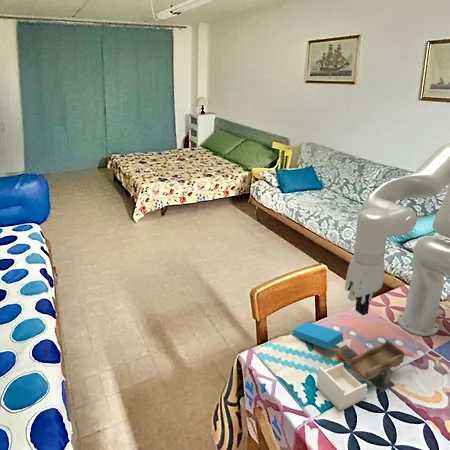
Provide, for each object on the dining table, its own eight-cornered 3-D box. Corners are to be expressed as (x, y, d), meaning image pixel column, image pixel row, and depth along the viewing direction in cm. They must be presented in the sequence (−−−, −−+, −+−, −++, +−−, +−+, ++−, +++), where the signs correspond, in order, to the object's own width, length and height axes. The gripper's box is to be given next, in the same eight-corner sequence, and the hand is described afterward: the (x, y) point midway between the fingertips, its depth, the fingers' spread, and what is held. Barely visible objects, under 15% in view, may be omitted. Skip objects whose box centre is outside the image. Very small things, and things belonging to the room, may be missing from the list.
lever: (295, 349, 130) (341, 367, 116) (292, 329, 129) (338, 345, 114) (309, 340, 134) (355, 357, 120) (307, 321, 133) (352, 336, 118)
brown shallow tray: (368, 339, 122) (370, 327, 120) (402, 365, 112) (405, 352, 110) (333, 355, 116) (334, 343, 114) (365, 384, 106) (367, 371, 104)
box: (341, 375, 113) (344, 356, 110) (366, 398, 106) (370, 377, 103) (316, 387, 109) (318, 367, 106) (339, 411, 102) (343, 390, 99)
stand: (367, 362, 118) (369, 347, 116) (394, 385, 110) (398, 370, 108) (354, 368, 116) (357, 353, 114) (381, 392, 108) (384, 376, 105)
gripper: (378, 242, 111) (370, 297, 118) (337, 256, 104) (331, 313, 112) (400, 253, 105) (391, 310, 112) (358, 268, 98) (351, 328, 106)
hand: (361, 312), depth 112 cm, fingers closed
